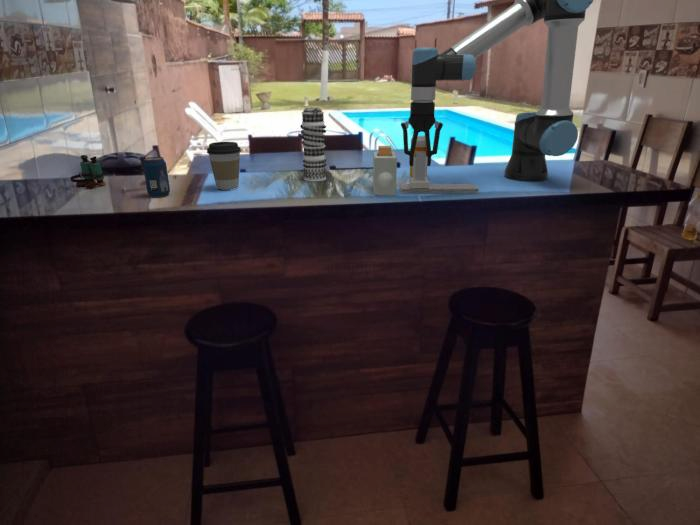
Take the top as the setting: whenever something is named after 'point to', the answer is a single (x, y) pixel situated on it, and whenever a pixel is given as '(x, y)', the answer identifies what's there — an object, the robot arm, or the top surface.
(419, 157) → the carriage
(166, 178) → the soda can
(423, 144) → the beer can
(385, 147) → the button
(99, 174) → the binoculars
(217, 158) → the coffee cup
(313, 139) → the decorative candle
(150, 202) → the top surface
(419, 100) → the robot arm
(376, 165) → the white block
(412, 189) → the rail
